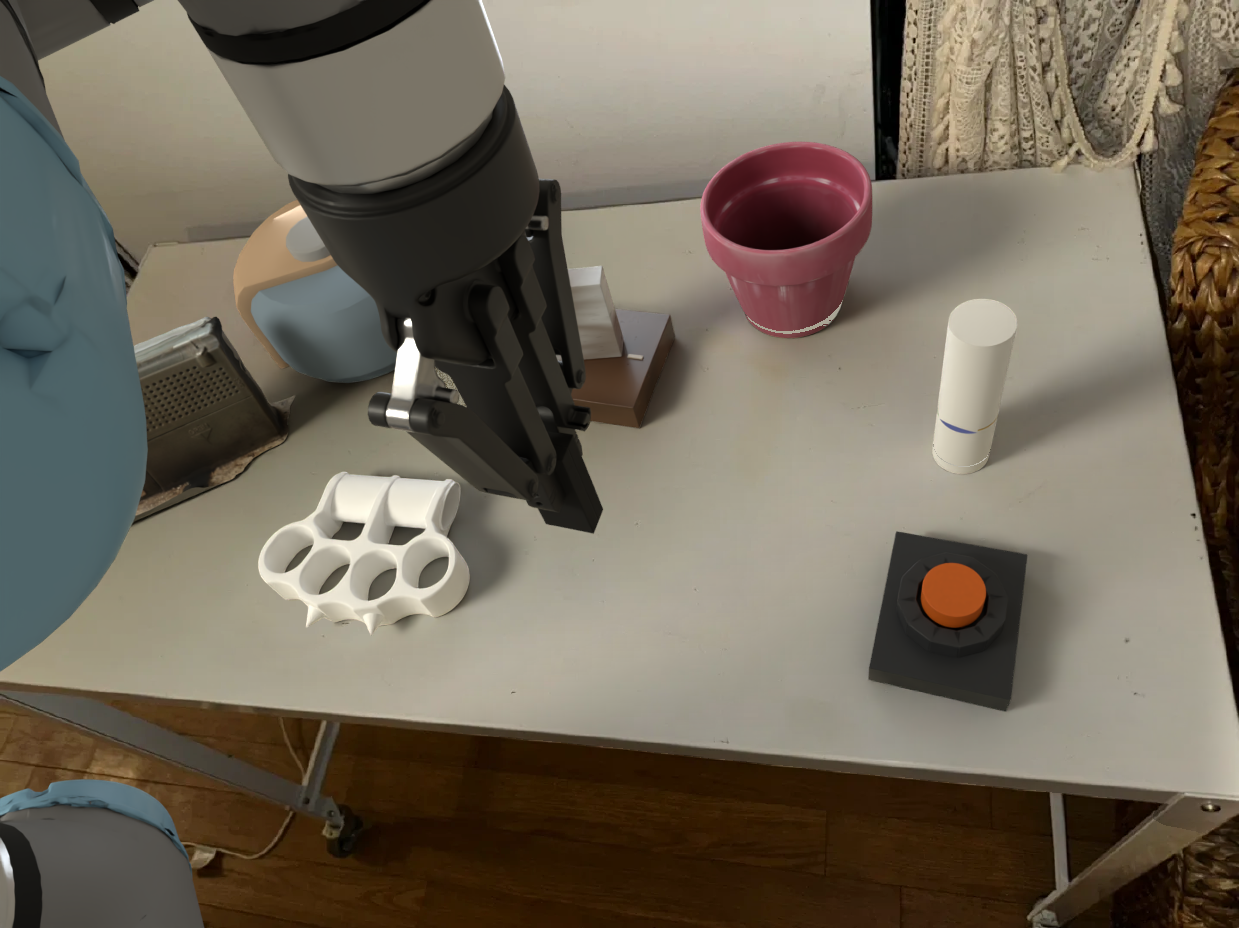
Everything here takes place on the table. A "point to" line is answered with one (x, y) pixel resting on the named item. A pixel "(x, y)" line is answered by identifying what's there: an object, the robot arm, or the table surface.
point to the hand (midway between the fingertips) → (574, 516)
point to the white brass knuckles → (370, 550)
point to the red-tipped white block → (595, 314)
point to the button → (953, 595)
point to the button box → (945, 656)
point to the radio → (200, 413)
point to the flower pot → (788, 231)
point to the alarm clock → (308, 303)
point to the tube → (972, 383)
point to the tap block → (627, 370)
